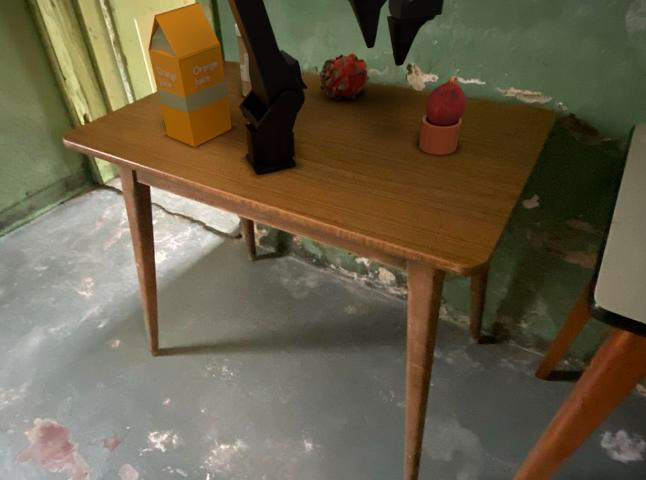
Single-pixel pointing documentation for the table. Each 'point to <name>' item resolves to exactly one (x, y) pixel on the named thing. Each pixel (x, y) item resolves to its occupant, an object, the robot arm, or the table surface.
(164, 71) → the orange juice
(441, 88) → the onion
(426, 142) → the cup
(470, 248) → the table surface
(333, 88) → the dragon fruit
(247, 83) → the sprinkles bottle
